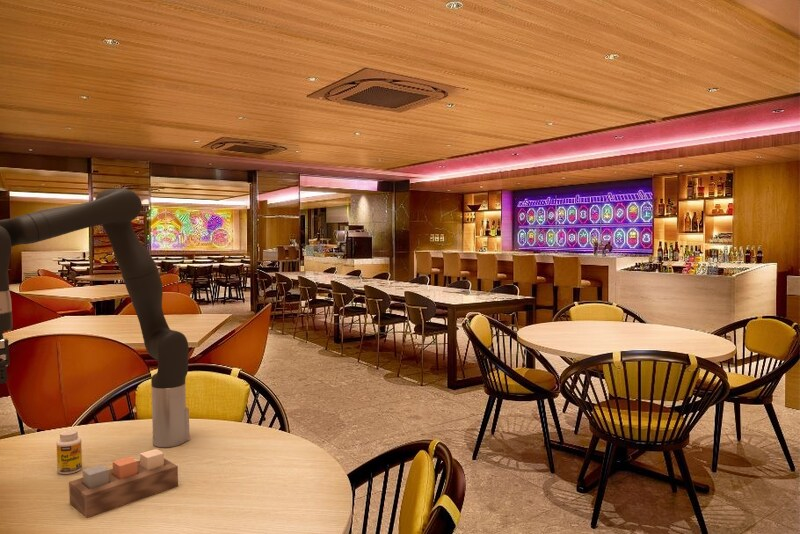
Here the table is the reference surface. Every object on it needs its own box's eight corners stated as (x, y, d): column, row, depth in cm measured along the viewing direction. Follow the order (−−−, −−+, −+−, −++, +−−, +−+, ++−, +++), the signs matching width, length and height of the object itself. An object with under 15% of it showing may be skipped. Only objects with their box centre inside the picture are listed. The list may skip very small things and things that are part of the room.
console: (158, 474, 149) (158, 455, 149) (178, 485, 142) (177, 465, 142) (69, 502, 133) (68, 481, 133) (86, 517, 127) (85, 495, 126)
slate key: (101, 481, 136) (101, 464, 135) (108, 486, 133) (108, 469, 133) (83, 487, 133) (82, 470, 132) (90, 492, 130) (89, 475, 130)
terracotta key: (130, 472, 140) (129, 456, 140) (137, 477, 138) (136, 461, 137) (112, 478, 137) (112, 461, 137) (120, 483, 135) (119, 466, 134)
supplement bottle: (58, 477, 147) (56, 437, 146) (56, 469, 152) (55, 431, 151) (83, 472, 150) (81, 433, 149) (81, 464, 155) (79, 427, 154)
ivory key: (156, 464, 145) (155, 448, 145) (163, 469, 143) (163, 453, 142) (140, 469, 142) (139, 453, 142) (147, 474, 140) (147, 457, 139)
